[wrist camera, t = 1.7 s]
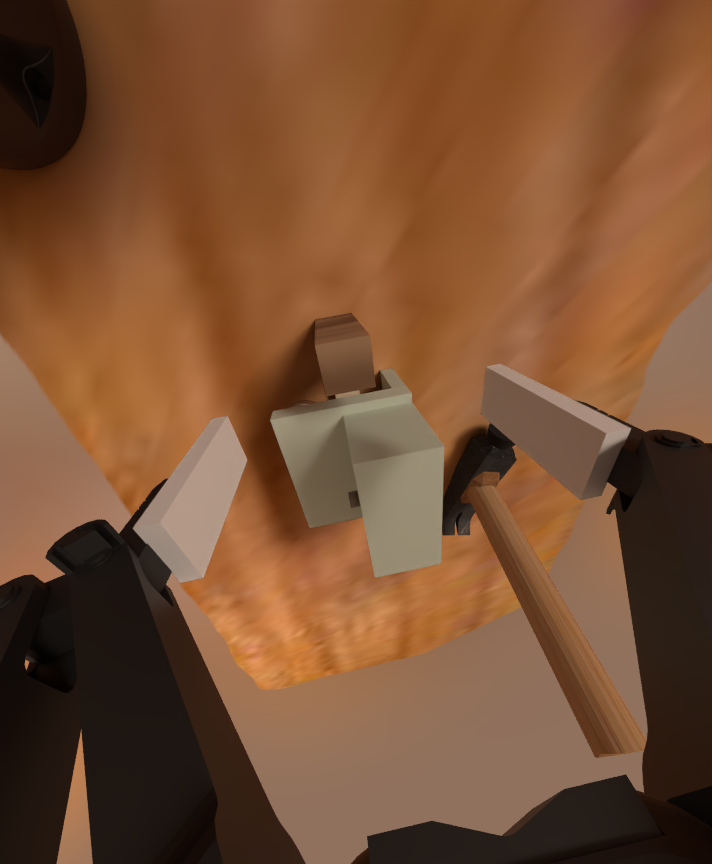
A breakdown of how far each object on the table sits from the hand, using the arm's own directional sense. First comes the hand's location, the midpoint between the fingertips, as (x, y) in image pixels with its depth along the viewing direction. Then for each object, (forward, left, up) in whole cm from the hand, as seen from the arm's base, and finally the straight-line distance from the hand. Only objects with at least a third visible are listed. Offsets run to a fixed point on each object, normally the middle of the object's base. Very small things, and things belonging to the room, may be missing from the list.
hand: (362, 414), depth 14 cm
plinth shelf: (+13, -1, -20) cm, 23 cm away
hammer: (+25, +17, -20) cm, 36 cm away
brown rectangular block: (+7, 0, -20) cm, 21 cm away
